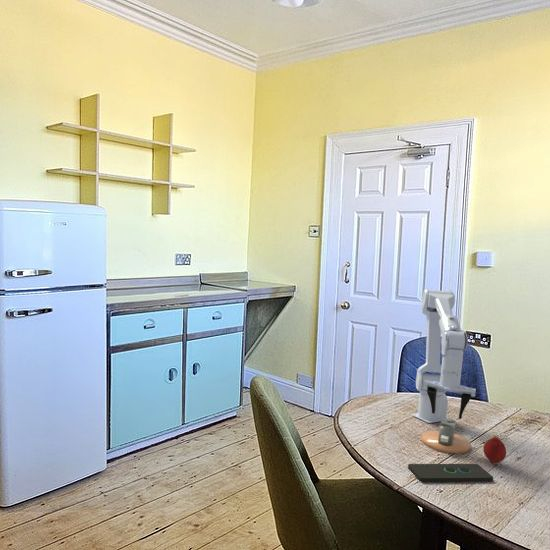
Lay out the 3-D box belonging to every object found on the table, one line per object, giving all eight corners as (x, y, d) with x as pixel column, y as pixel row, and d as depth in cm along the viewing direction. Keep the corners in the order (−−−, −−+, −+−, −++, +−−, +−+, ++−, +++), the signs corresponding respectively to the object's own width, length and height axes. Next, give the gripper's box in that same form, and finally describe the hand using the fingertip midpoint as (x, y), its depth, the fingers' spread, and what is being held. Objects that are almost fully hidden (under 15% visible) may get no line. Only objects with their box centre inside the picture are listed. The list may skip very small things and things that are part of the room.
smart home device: (494, 477, 130) (420, 477, 127) (494, 483, 130) (420, 484, 127) (477, 462, 138) (407, 462, 135) (476, 469, 138) (406, 469, 135)
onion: (503, 461, 143) (506, 433, 143) (505, 470, 138) (509, 441, 137) (481, 457, 145) (484, 430, 145) (482, 465, 140) (485, 437, 139)
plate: (443, 432, 163) (443, 428, 163) (480, 449, 151) (481, 445, 151) (411, 438, 156) (412, 434, 156) (448, 456, 144) (448, 452, 144)
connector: (441, 433, 159) (442, 417, 158) (454, 435, 157) (456, 420, 157) (436, 447, 147) (437, 430, 147) (450, 450, 146) (452, 433, 145)
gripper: (424, 369, 152) (419, 413, 153) (476, 378, 146) (471, 424, 147) (427, 364, 158) (423, 407, 159) (477, 372, 152) (473, 417, 153)
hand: (446, 415), depth 154 cm, fingers open, 7 cm apart
